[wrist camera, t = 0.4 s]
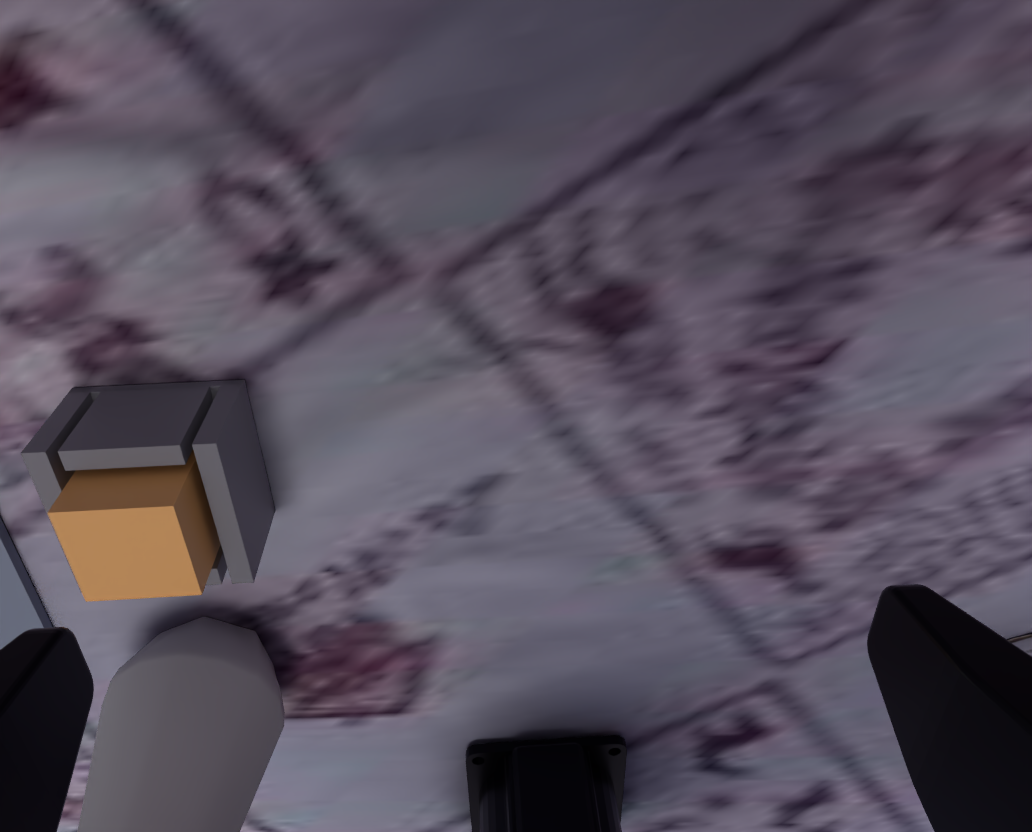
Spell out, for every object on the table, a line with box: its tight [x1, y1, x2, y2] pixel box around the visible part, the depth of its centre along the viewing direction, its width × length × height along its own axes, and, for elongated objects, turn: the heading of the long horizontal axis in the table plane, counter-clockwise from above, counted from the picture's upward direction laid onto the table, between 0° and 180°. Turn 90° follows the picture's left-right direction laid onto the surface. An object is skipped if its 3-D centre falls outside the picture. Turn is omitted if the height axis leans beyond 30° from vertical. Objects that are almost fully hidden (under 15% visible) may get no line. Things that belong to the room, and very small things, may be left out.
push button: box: [48, 450, 221, 602], centre depth 21 cm, size 3×3×3 cm
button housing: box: [21, 380, 275, 591], centre depth 23 cm, size 5×5×3 cm
